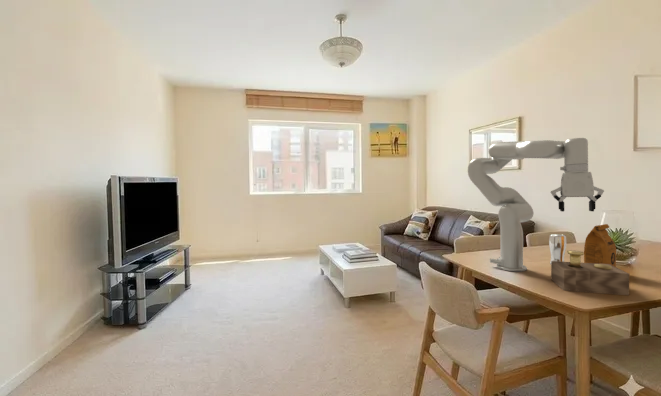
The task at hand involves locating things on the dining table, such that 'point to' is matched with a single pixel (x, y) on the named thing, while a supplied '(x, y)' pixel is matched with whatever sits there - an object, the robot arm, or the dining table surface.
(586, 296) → the dining table surface
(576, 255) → the brass peg
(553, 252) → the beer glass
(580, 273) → the walnut block
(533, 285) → the dining table surface
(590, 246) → the coffee package
